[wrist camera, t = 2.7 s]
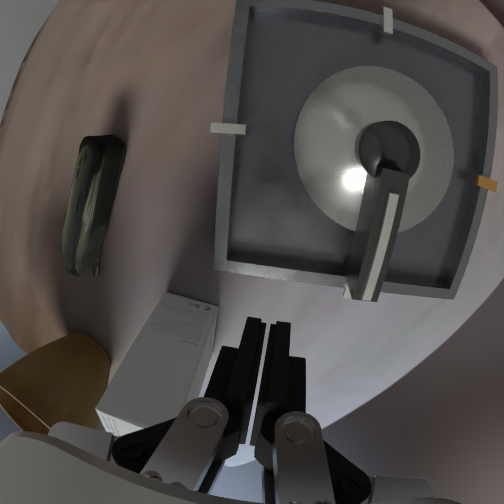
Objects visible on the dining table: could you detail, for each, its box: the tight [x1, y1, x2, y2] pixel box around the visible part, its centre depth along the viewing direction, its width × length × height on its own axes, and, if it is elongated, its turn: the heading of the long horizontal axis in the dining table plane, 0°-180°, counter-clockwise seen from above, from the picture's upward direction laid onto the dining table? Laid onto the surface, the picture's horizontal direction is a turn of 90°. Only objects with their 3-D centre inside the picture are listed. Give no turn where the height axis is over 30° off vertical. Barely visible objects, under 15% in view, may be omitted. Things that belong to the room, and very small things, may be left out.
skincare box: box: [95, 292, 219, 437], centre depth 22 cm, size 8×6×15 cm
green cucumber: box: [61, 135, 126, 276], centre depth 23 cm, size 5×3×15 cm
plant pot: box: [0, 333, 111, 435], centre depth 27 cm, size 15×15×16 cm
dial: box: [294, 66, 454, 302], centre depth 17 cm, size 16×12×6 cm
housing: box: [211, 0, 498, 300], centre depth 18 cm, size 23×23×3 cm
